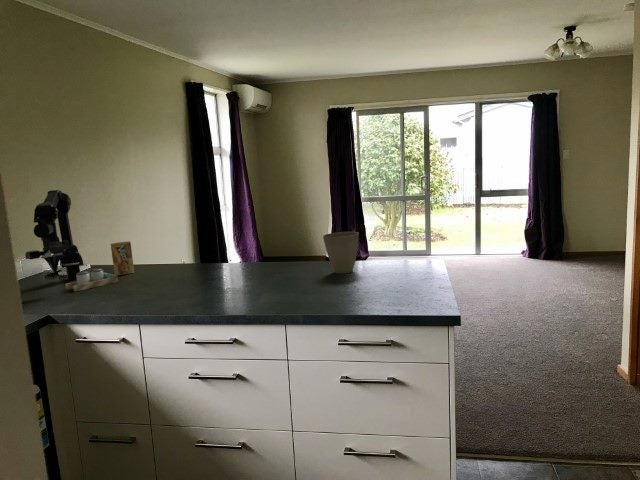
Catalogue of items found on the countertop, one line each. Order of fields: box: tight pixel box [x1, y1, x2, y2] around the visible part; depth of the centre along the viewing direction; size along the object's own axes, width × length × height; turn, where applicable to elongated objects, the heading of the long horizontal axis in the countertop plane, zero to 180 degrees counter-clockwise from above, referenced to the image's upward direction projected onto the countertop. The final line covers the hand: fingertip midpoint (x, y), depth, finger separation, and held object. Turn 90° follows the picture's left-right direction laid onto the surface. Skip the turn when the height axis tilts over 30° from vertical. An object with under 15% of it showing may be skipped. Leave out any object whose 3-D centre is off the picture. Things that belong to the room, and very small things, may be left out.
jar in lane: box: [89, 268, 105, 282], centre depth 229 cm, size 5×5×7 cm
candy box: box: [110, 240, 135, 276], centre depth 249 cm, size 9×4×15 cm, turn 116°
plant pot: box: [322, 231, 359, 275], centre depth 217 cm, size 15×15×16 cm
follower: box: [103, 271, 111, 279], centre depth 232 cm, size 1×6×4 cm, turn 48°
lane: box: [65, 273, 119, 292], centre depth 228 cm, size 19×9×3 cm, turn 138°
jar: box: [76, 270, 91, 285], centre depth 225 cm, size 5×5×7 cm
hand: (55, 272), depth 216 cm, fingers closed
